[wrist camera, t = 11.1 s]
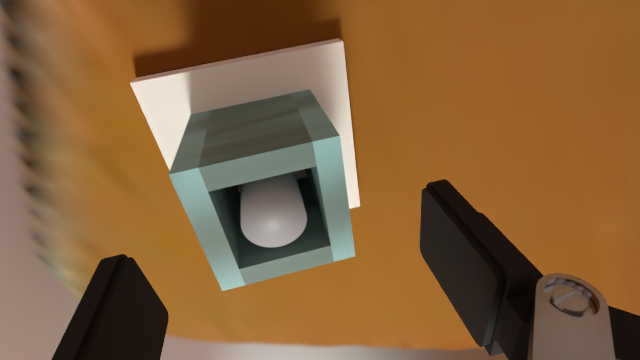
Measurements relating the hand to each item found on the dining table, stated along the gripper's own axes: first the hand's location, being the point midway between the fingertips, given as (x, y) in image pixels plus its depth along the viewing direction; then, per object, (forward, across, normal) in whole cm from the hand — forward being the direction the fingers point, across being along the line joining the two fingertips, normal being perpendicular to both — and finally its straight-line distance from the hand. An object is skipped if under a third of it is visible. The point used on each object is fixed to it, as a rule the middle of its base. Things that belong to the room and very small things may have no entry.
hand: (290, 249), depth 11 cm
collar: (+8, +1, +1) cm, 8 cm away
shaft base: (+9, +1, +1) cm, 9 cm away
